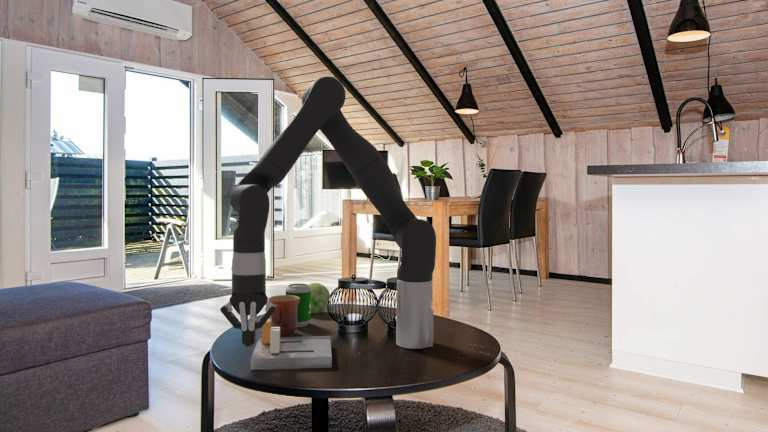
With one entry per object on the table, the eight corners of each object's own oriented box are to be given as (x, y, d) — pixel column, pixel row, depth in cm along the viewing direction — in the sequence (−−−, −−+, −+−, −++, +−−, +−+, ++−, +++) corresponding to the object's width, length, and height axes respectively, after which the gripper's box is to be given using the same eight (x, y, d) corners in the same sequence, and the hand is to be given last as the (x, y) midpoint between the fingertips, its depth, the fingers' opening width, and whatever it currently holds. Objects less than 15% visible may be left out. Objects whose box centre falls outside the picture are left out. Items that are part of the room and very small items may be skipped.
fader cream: (280, 348, 122) (280, 326, 122) (278, 353, 119) (279, 330, 119) (271, 348, 122) (271, 326, 122) (270, 353, 119) (270, 330, 118)
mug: (275, 329, 150) (275, 294, 150) (304, 331, 148) (304, 295, 148) (257, 340, 138) (257, 302, 138) (288, 343, 137) (288, 304, 136)
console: (329, 345, 135) (329, 335, 134) (331, 367, 118) (331, 356, 118) (259, 347, 132) (259, 337, 132) (250, 369, 115) (250, 358, 115)
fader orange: (271, 339, 130) (271, 318, 130) (270, 343, 126) (270, 321, 126) (263, 339, 130) (263, 318, 129) (261, 343, 126) (261, 322, 126)
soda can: (308, 328, 152) (308, 287, 151) (282, 327, 152) (283, 287, 152) (312, 321, 159) (312, 283, 159) (288, 321, 160) (288, 282, 159)
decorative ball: (332, 315, 168) (332, 285, 167) (301, 317, 165) (301, 286, 165) (327, 309, 177) (327, 280, 177) (298, 310, 175) (298, 281, 174)
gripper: (279, 268, 123) (278, 340, 124) (222, 269, 122) (222, 341, 122) (277, 273, 116) (276, 350, 117) (216, 273, 114) (215, 351, 115)
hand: (248, 345), depth 120 cm, fingers closed
